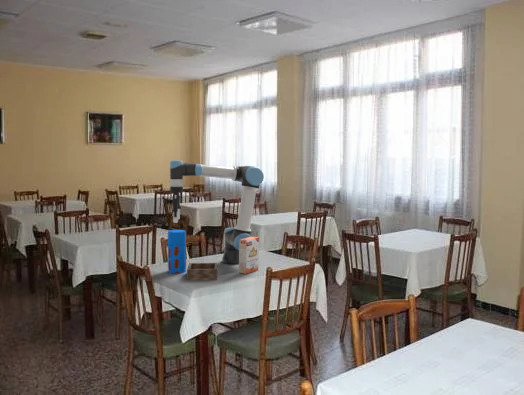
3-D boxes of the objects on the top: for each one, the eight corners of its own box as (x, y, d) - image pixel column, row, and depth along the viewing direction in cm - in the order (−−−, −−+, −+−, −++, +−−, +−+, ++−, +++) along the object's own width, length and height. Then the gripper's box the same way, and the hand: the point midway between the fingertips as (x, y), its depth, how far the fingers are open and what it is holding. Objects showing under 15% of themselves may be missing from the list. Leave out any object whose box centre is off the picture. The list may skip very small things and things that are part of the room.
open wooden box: (217, 272, 313) (217, 262, 312) (216, 279, 296) (216, 269, 296) (189, 272, 312) (189, 263, 311) (187, 279, 295) (187, 269, 294)
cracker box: (246, 274, 308) (246, 240, 306) (238, 273, 312) (238, 239, 310) (259, 270, 320) (259, 237, 318) (251, 268, 323) (251, 236, 321)
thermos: (185, 273, 310) (185, 232, 307) (167, 273, 309) (167, 232, 306) (186, 269, 320) (186, 229, 318) (169, 269, 320) (168, 229, 317)
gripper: (172, 184, 322) (172, 218, 324) (167, 187, 297) (168, 223, 299) (184, 184, 322) (184, 218, 324) (181, 187, 297) (181, 223, 299)
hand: (176, 221), depth 312 cm, fingers open, 13 cm apart
